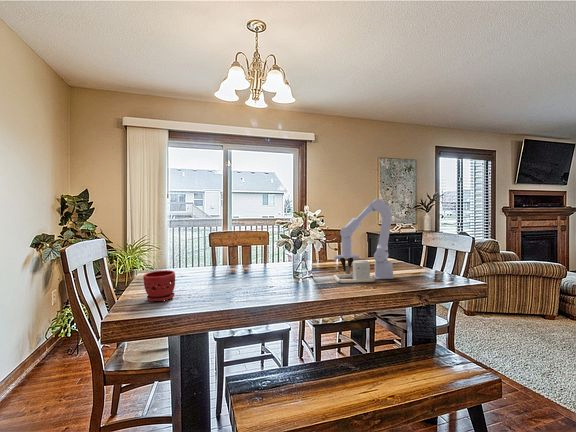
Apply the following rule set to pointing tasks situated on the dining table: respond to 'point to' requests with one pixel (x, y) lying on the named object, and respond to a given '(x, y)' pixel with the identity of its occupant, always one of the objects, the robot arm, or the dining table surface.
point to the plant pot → (159, 285)
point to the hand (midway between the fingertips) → (346, 270)
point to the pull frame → (347, 274)
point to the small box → (361, 270)
